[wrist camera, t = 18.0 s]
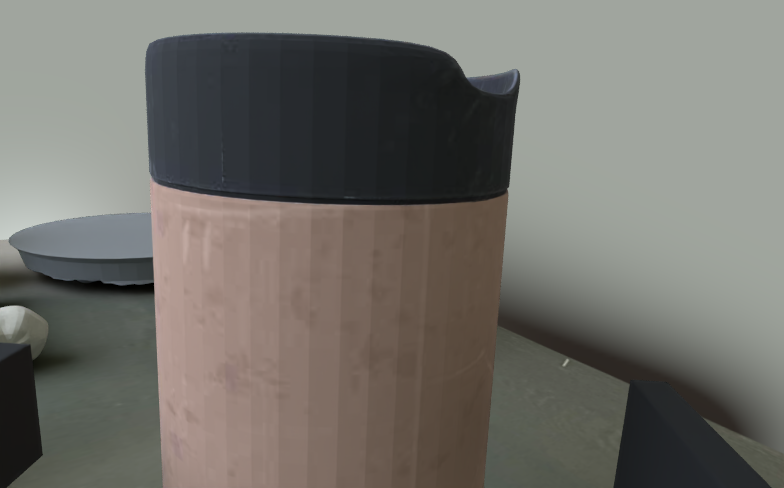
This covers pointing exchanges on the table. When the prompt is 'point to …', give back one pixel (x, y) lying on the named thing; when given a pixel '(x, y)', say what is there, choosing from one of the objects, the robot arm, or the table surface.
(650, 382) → the robot arm
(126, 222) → the flat disc
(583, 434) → the table surface
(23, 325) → the dog toy
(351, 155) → the travel mug
